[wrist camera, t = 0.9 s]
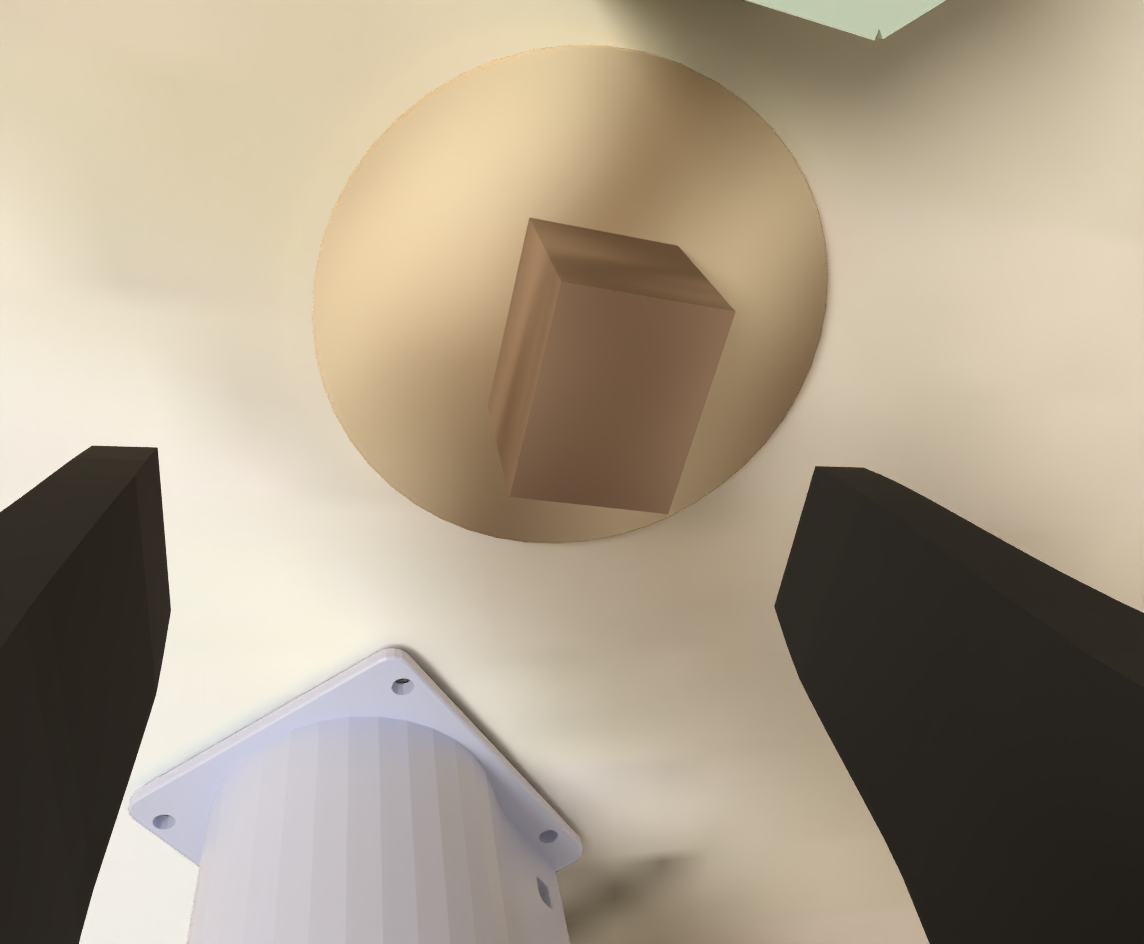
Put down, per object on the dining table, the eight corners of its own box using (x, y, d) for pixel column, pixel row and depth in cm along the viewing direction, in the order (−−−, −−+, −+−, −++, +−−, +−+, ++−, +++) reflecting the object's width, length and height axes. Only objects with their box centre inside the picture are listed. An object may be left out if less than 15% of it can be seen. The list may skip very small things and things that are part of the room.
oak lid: (886, 109, 19) (1008, 162, 16) (725, 543, 24) (789, 659, 21) (350, -22, 17) (347, 4, 13) (288, 498, 21) (273, 624, 18)
